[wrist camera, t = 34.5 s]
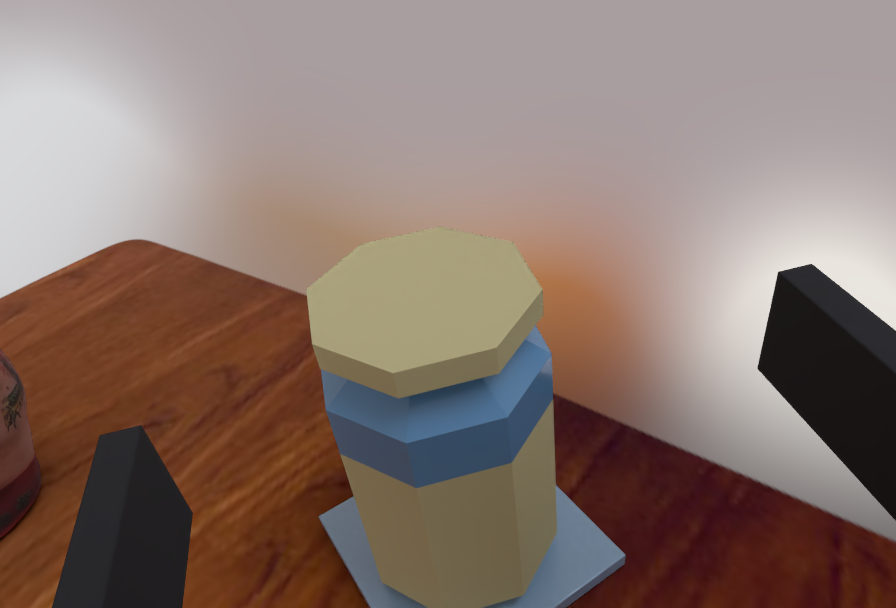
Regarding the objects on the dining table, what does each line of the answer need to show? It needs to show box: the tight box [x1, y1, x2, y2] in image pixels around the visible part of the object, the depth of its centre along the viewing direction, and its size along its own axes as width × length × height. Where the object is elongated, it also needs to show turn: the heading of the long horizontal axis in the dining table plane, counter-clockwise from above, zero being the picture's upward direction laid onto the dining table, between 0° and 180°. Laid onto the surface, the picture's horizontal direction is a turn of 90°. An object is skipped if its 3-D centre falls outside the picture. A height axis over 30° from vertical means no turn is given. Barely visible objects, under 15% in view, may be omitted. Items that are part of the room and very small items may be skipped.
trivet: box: [319, 486, 626, 608], centre depth 33 cm, size 11×11×1 cm
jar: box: [307, 227, 557, 608], centre depth 28 cm, size 9×9×15 cm
